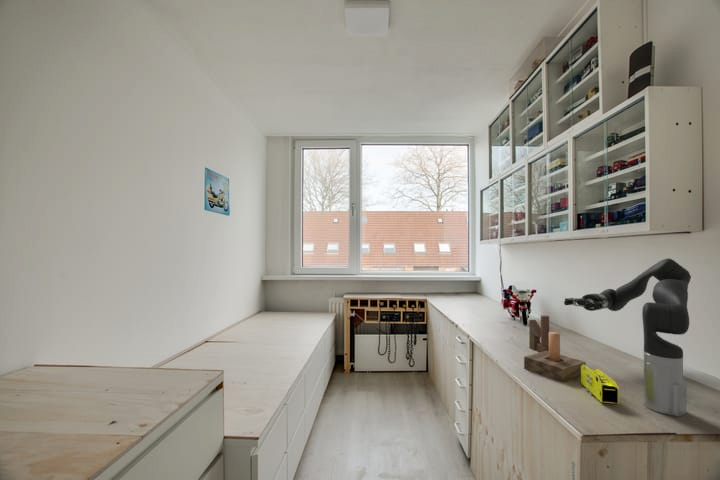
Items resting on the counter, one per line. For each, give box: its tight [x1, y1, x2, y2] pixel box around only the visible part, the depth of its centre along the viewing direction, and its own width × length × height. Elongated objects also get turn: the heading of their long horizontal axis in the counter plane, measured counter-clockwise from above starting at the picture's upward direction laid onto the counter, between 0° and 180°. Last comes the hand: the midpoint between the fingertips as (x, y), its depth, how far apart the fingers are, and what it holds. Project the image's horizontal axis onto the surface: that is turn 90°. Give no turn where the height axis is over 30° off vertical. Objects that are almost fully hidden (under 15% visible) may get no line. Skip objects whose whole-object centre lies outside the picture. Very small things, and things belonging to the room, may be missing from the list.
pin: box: [549, 331, 561, 362], centre depth 136 cm, size 4×4×14 cm
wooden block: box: [528, 314, 550, 353], centre depth 162 cm, size 4×11×18 cm, turn 12°
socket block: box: [523, 351, 587, 383], centre depth 135 cm, size 16×16×5 cm
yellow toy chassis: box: [580, 364, 620, 405], centre depth 114 cm, size 16×6×8 cm, turn 166°
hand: (575, 304), depth 144 cm, fingers open, 8 cm apart
